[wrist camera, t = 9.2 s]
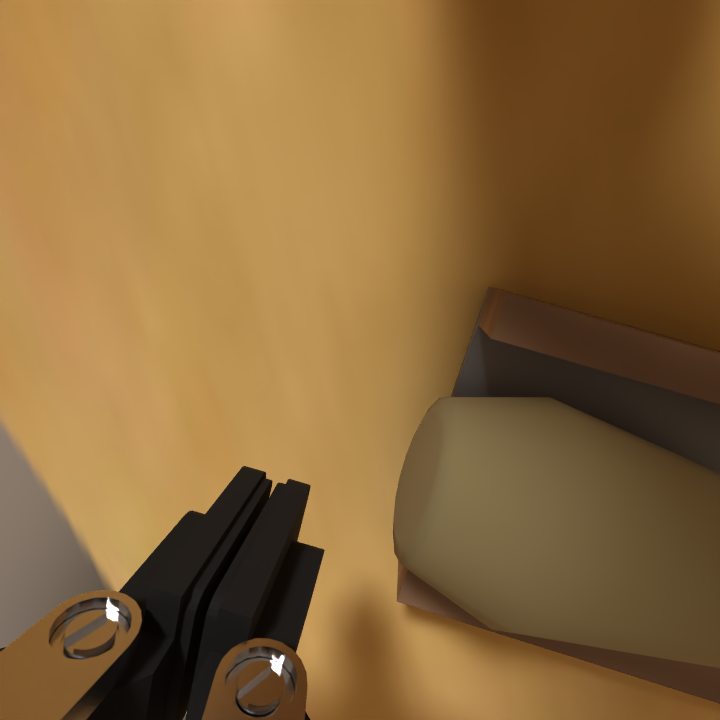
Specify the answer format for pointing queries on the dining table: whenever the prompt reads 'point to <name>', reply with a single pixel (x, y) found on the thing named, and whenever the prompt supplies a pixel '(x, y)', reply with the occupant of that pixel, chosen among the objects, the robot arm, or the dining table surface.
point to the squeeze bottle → (563, 527)
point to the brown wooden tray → (603, 401)
